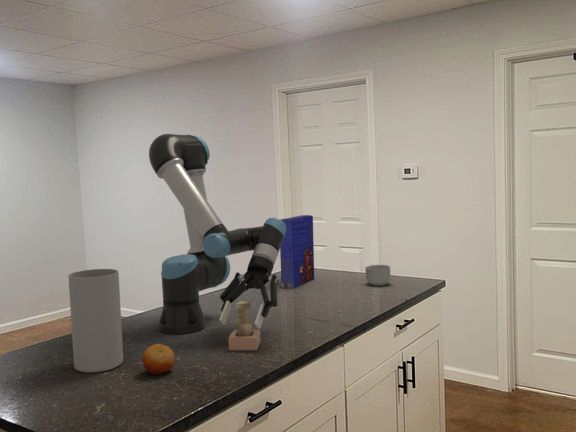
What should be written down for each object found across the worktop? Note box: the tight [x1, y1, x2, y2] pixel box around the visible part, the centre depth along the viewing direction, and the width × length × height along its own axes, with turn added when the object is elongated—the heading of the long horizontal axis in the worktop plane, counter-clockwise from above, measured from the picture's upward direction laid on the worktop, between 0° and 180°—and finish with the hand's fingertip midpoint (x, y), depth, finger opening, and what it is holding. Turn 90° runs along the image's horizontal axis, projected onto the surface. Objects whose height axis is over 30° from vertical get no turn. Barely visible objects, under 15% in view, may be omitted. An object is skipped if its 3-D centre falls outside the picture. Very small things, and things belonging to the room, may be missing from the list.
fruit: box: [141, 343, 175, 376], centre depth 140 cm, size 8×8×8 cm
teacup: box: [364, 264, 391, 287], centre depth 240 cm, size 14×11×8 cm
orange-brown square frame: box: [228, 329, 261, 351], centre depth 159 cm, size 8×8×4 cm
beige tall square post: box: [235, 300, 253, 336], centre depth 159 cm, size 3×3×12 cm
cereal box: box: [279, 214, 315, 290], centre depth 245 cm, size 22×6×30 cm, turn 153°
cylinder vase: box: [68, 268, 124, 374], centre depth 145 cm, size 12×12×25 cm
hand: (239, 324), depth 156 cm, fingers open, 11 cm apart
